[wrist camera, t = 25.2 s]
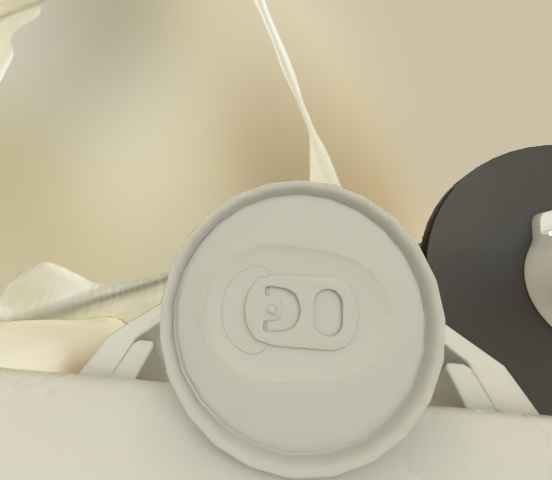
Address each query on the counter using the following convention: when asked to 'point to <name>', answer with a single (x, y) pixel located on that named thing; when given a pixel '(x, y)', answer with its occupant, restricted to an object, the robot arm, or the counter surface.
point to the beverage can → (302, 329)
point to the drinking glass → (53, 343)
